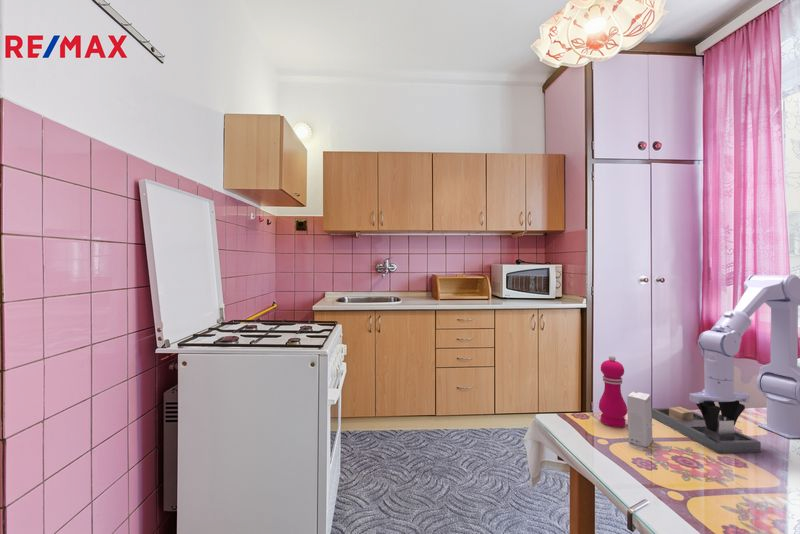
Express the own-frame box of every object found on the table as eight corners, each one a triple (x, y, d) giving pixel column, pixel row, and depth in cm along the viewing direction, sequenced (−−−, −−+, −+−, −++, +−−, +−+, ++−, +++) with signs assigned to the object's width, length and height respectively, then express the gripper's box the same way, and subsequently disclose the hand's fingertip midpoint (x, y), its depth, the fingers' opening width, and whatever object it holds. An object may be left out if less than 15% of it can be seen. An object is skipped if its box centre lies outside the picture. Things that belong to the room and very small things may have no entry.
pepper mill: (632, 429, 99) (631, 358, 99) (604, 427, 100) (603, 357, 101) (621, 419, 106) (620, 353, 106) (595, 417, 107) (594, 352, 108)
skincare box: (647, 448, 88) (647, 400, 88) (627, 442, 91) (626, 395, 92) (653, 440, 92) (652, 394, 93) (633, 434, 96) (632, 390, 96)
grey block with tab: (719, 436, 93) (719, 411, 93) (734, 444, 89) (734, 417, 89) (705, 437, 93) (704, 411, 93) (719, 444, 89) (719, 417, 89)
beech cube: (679, 419, 105) (679, 406, 105) (693, 425, 101) (693, 411, 101) (669, 421, 104) (668, 407, 104) (682, 427, 100) (682, 413, 101)
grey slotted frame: (684, 415, 108) (684, 407, 108) (760, 452, 86) (760, 442, 86) (650, 416, 108) (650, 408, 108) (718, 453, 86) (717, 443, 86)
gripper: (730, 372, 95) (731, 422, 95) (679, 373, 95) (680, 423, 95) (757, 380, 88) (758, 434, 88) (702, 381, 88) (703, 435, 88)
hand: (719, 429), depth 91 cm, fingers closed on grey block with tab, 4 cm apart
